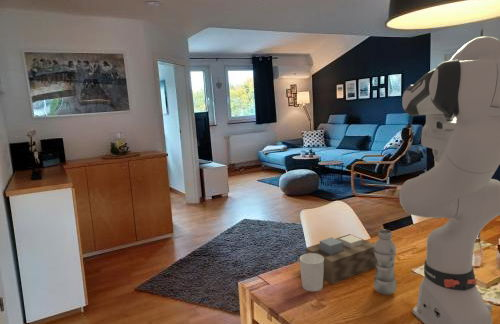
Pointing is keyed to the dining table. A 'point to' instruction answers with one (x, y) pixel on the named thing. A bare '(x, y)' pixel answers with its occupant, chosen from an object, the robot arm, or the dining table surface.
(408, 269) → the dining table surface
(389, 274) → the plastic bottle
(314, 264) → the white cup
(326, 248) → the blue-grey square block
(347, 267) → the brown rectangular block
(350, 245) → the light beige square block
